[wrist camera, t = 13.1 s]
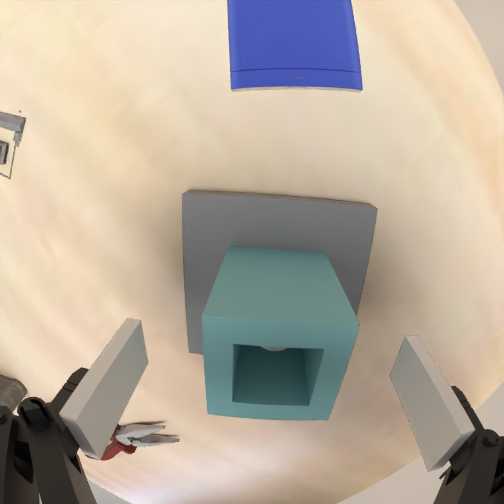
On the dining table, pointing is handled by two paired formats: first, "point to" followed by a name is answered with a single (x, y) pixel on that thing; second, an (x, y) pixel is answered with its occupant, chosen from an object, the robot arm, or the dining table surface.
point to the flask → (11, 392)
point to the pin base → (269, 240)
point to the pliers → (133, 439)
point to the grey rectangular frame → (18, 126)
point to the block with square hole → (276, 335)
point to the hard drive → (293, 45)
